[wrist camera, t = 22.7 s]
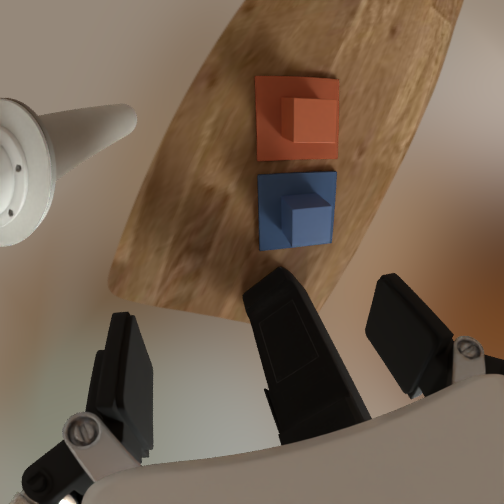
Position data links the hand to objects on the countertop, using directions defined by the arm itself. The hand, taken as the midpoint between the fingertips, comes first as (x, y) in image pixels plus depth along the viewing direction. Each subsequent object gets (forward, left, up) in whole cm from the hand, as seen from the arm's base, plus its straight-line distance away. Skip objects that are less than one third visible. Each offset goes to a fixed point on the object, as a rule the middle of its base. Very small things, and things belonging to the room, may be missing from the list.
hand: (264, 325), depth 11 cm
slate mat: (+9, -5, -23) cm, 25 cm away
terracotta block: (+9, +5, -23) cm, 25 cm away
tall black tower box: (+6, -17, -23) cm, 29 cm away
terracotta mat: (+9, +5, -23) cm, 25 cm away
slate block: (+9, -5, -23) cm, 25 cm away
